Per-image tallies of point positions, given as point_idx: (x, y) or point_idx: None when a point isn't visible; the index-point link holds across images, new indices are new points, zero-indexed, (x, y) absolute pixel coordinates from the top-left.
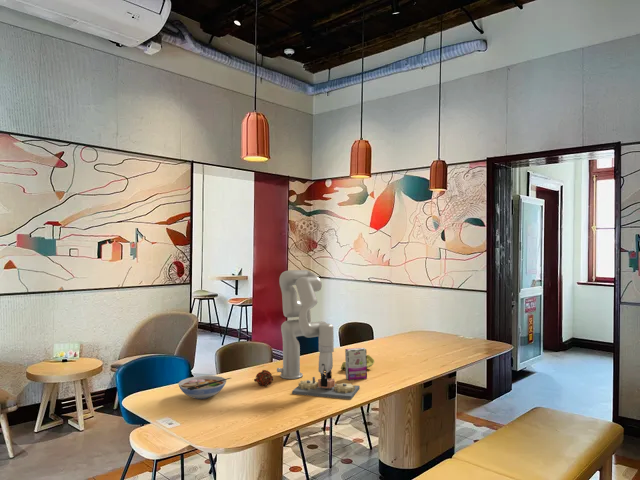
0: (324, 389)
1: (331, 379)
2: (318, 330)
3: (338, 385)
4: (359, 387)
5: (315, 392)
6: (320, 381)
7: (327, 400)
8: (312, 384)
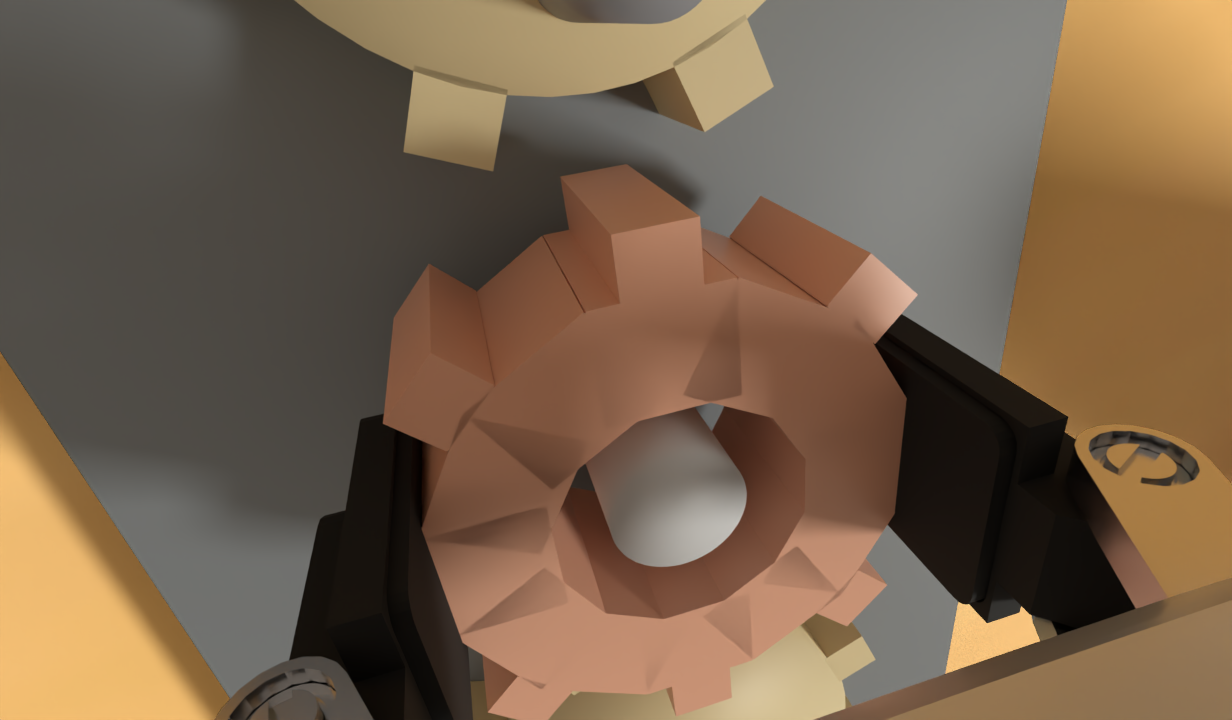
0: None
1: (787, 598)
2: None
3: None
4: None
5: (46, 331)
6: (428, 433)
7: (4, 679)
8: (364, 7)
